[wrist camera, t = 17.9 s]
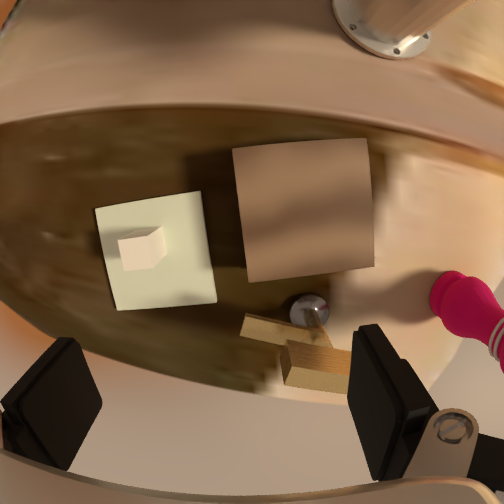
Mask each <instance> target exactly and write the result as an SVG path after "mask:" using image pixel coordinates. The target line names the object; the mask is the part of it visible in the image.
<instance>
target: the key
mask: <svg viewBox="0 0 504 504" xmlns="http://www.w3.org/2000/svg"><path fill="white" fill-rule="evenodd" d="M303 318H304V321H305V324H306V326H302V325H297V324H293V323H288V322H284V321H279V320H275V319H271V318H267V317H262V316H258V315H254V314H250V313H245V316H244V320H243V323H242V326H241V330H240V336H244V337H248V338H252V339H257V340H261V341H266V342H270V343H275V344H280V345H284V346H283V349H282V352H281V354H280V362H281V368H282V375H283V381H284V385H286V386H292V387H298V388H305V389H311V390H318V391H325V392H333V393H341V394H347V392H348V383H349V374H350V364H351V353H352V352H351V351H345V350H339V349H334V348H333V347H332V345H331V342H330V340H329V338H328V336H327V333H326V331H325V329H324V327H323V325H322V322H321V320H320V318H319V316H318V314H317V312H316V310H314V309H308V310H306V311H305V312H304V314H303Z"/></svg>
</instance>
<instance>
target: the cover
mask: <svg viewBox="0 0 504 504" xmlns="http://www.w3.org/2000/svg"><path fill="white" fill-rule="evenodd" d="M95 212H96V217H97V223H98V229H99V234H100V239H101V244H102V249H103V254H104V258H105V263H106V267H107V272H108V276H109V280H110V284H111V288H112V292H113V296H114V300H115V303H116V307H117V311H118V310H133V309H148V308H161V307H173V306H185V305H197V304H208V303H217V296H216V289H215V283H214V277H213V271H212V265H211V258H210V252H209V245H208V238H207V231H206V225H205V217H204V210H203V203H202V196H201V191H196V192H189V193H182V194H176V195H169V196H163V197H157V198H151V199H145V200H139V201H133V202H128V203H122V204H117V205H112V206H106V207H101V208H97V209H95Z"/></svg>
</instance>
